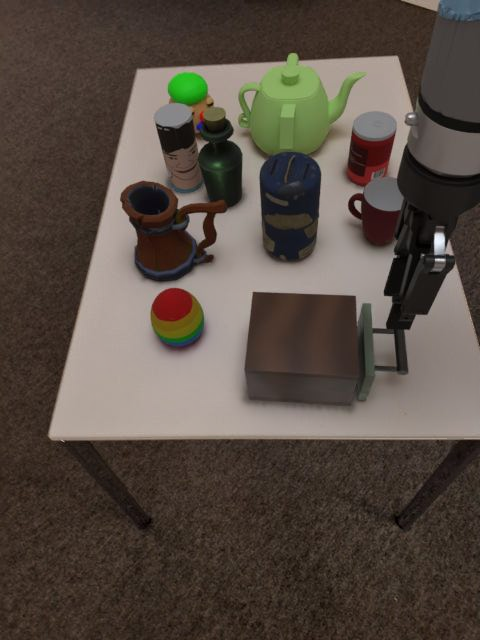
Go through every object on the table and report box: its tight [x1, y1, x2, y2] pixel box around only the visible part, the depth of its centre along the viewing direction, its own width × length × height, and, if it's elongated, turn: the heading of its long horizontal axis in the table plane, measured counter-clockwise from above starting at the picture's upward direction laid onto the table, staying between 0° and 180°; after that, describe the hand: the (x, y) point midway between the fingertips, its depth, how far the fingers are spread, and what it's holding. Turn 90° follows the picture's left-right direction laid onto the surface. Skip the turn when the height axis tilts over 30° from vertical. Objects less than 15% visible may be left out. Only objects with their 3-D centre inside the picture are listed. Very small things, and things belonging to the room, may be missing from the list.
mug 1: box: [119, 180, 228, 282], centre depth 80 cm, size 18×12×15 cm, turn 81°
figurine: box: [167, 71, 215, 134], centre depth 101 cm, size 11×10×12 cm
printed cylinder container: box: [153, 103, 204, 194], centre depth 91 cm, size 7×7×15 cm
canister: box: [258, 152, 322, 262], centre depth 79 cm, size 10×10×18 cm
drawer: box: [356, 302, 409, 401], centre depth 69 cm, size 18×11×8 cm, turn 84°
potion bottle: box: [198, 106, 244, 208], centre depth 87 cm, size 8×8×18 cm
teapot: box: [237, 52, 367, 156], centre depth 97 cm, size 19×20×14 cm
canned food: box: [346, 110, 398, 187], centre depth 90 cm, size 8×8×11 cm
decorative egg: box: [149, 287, 205, 347], centre depth 74 cm, size 8×8×10 cm
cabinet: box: [244, 291, 359, 406], centre depth 69 cm, size 15×13×10 cm
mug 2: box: [347, 176, 404, 245], centre depth 82 cm, size 11×8×10 cm
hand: (396, 309), depth 59 cm, fingers open, 4 cm apart
